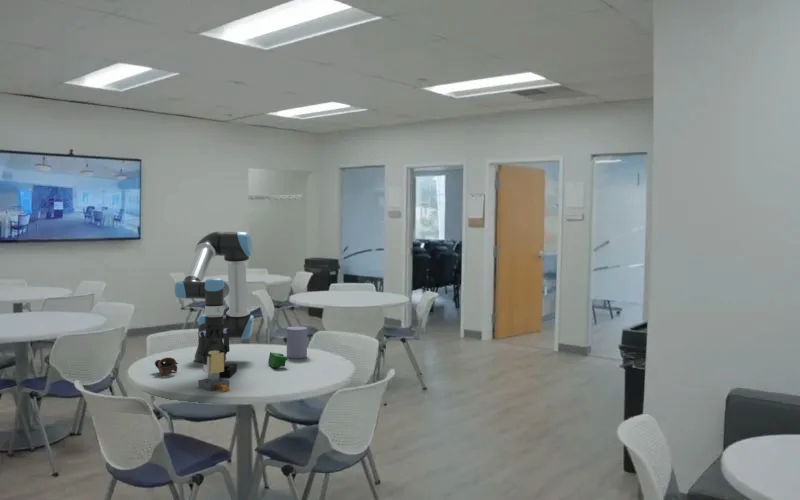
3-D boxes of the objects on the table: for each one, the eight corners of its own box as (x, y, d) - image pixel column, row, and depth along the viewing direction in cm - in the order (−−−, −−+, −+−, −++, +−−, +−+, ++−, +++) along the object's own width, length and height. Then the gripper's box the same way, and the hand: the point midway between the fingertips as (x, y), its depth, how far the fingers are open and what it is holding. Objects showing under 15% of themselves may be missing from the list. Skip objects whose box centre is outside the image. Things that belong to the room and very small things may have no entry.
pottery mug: (183, 372, 292) (181, 358, 287) (170, 385, 284) (168, 371, 280) (161, 364, 295) (159, 351, 291) (148, 377, 287) (145, 364, 283)
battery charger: (216, 371, 295) (216, 363, 295) (236, 372, 295) (237, 363, 295) (208, 378, 282) (208, 369, 282) (229, 378, 282) (229, 370, 282)
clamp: (283, 375, 304) (288, 359, 302) (271, 374, 302) (276, 358, 299) (279, 361, 315) (284, 346, 312) (267, 360, 312) (272, 344, 309)
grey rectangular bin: (198, 387, 266) (198, 371, 266) (217, 383, 273) (217, 368, 272) (216, 393, 257) (216, 377, 257) (235, 389, 264) (235, 373, 263)
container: (310, 357, 328) (310, 328, 327) (291, 359, 322) (292, 330, 321) (301, 354, 336) (301, 326, 336) (283, 356, 330) (283, 327, 330)
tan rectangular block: (203, 371, 266) (203, 352, 266) (216, 369, 270) (216, 350, 270) (211, 373, 262) (211, 354, 262) (223, 371, 266) (224, 352, 266)
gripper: (198, 318, 256) (198, 376, 256) (239, 314, 270) (238, 368, 270) (188, 316, 261) (188, 372, 261) (229, 312, 275) (228, 366, 276)
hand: (213, 370), depth 266 cm, fingers closed on tan rectangular block, 6 cm apart
